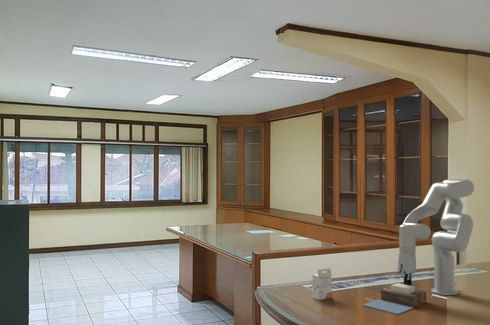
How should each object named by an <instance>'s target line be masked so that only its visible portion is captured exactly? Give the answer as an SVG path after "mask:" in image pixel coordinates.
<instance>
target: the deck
mask: <svg viewBox="0 0 490 325" xmlns="http://www.w3.org/2000/svg"><path fill="white" fill-rule="evenodd" d="M380 300H384V301H389V302H393V303H397V304H401V305H406V306H410V307H415V308H416V307H418V306H420V305H422V304H425V303H427V291H426V290H421V289H416V288H415V292H413V293H410V294H407V293H402V292H397V291H393V290H391V286H390V287H387V288H386V287H385V288H383V289H381V290H380Z"/></svg>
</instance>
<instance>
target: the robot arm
mask: <svg viewBox="0 0 490 325" xmlns="http://www.w3.org/2000/svg"><path fill="white" fill-rule="evenodd" d="M474 191H475V185H474V182H473V181H472V180H469V179H459V178H458V179H457V178H456V179H454V178H453V179H451V178H450V179H445V180H443V181H442V182H441V181H440V182H439V181H438V182H434V183H432V184H431V187H430V188H429V190H428V191H427V193H426V195H425V197H424V199H423V202H422V203H421V204H420V205H418V206H417V207H416V208H414V209H413V210H412V211H411V212H410V213H409V214H407V216H406V217H405V219H404V221H403V223H402V224H400V225H399V226H398V227H399V230H398V231H399V237H398V239H399V247H398V249H399V250H398V251H399V253H398V259H397V260H398V261H397V272H398V273H399V274H400V276H401V277H402V278H403V284H405V285H410V286H413V285H412V280H413V275H414V274H415V272H416V271H417V259H416V258H417V256H416V253H417V252H416V245H417V243H416V239H418V240H426V239H428V238H429V237H430V235H431V233H432V231H431V227H430V226H429V225H426V224H425V223H419V222H420V221H421V220H423V219H424V218H427V217H431V216H433V215H436V214H438V213H439V210H440V209H441V206H443V202H444V201H445V205H444V208H443V212H442V215H441V219H440V223H439V224H440V227H441V228H442V229H443V230H444V231H443V230H439V231H436V232H434V233H433V234H432V237H431V244H432V245H431V246H432V250H433V257H434V258H433V262H434V263H433V266H434V267H433V275H434V283H433V284H434V287H432V288H431V290H430V291H431V292H432V293H434V294H435V295H436V294H437V295H443V296H456V295H458V294H459V291H458V290H457V289H455V287H456V286H457V283H456V282H455V257H454V255H453V253H452V252H456V253H463V252H465V251H466V250H467V248H468V246H469V243H470V238H471V235H472V233H473V232H472V231H473V228H474V221H473V218H472V216H471V215H469V214H467V213H462V212H463V209H464V204H463V202H462V200H461V199H463V198H465V197H469V196H471V195H472V194H473V193H474ZM445 230H446V231H445ZM451 231H452V232H451Z"/></svg>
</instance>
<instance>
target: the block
mask: <svg viewBox="0 0 490 325" xmlns="http://www.w3.org/2000/svg"><path fill="white" fill-rule="evenodd" d="M390 287H391V290H393V291H397V292H402V293H407V294H410V293H413V292H415V289H416V286H414V285H412V286H410V285H405V284H404V283H399V282H398V283H393V284H391V286H390Z"/></svg>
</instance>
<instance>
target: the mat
mask: <svg viewBox="0 0 490 325" xmlns="http://www.w3.org/2000/svg"><path fill="white" fill-rule="evenodd" d="M362 307H365V308H371V309H373V310H378V311H381V312H385V313H389V314H393V315H397V316H398V315H401V314H404V313H406V312H409V311H412V310H413V309H415V308H414V307H410V306H406V305H401V304H397V303H393V302H389V301H384V300H381V298H380V299H379V298H378V299H376V300H375V299H374V300H371V301H369V302H367V303H364V304H362Z"/></svg>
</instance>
